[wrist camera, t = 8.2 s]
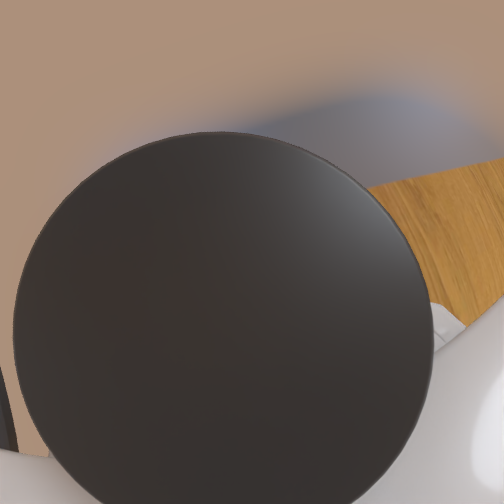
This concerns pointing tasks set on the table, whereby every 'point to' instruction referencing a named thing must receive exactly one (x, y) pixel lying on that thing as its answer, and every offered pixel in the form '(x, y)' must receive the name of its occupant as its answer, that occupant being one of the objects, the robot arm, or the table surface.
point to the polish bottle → (223, 328)
